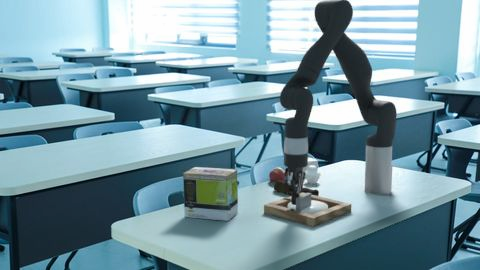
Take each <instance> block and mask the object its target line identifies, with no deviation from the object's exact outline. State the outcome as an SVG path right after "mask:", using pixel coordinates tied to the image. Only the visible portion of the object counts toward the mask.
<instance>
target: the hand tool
mask: <svg viewBox="0 0 480 270" xmlns="http://www.w3.org/2000/svg"><path fill="white" fill-rule="evenodd" d="M273 190H274V192H276V193H278V194H281V195H282V194H283V195H287V194H289V195H291V194H292V193H289V192H288V189H287V186H286V183H285V181H282V180H277V181H276V182H274V184H273ZM299 193H311V195H316V196H319V194H320V191H319V190H318V189H312V188H307V187H303V188H302V189H301V191H300V192H299Z"/></svg>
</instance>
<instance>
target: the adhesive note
mask: <svg viewBox="0 0 480 270" xmlns="http://www.w3.org/2000/svg"><path fill="white" fill-rule="evenodd" d="M318 163H319V162H318V159H316V158H312V157H308V165H307V166H306V167H303V172H305V171H307V169H308V167H309V166H311V165H314V166H316V167H317V169H318V170H319V167H318V166H319V164H318Z"/></svg>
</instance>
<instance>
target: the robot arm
mask: <svg viewBox="0 0 480 270" xmlns="http://www.w3.org/2000/svg"><path fill="white" fill-rule="evenodd" d="M353 10H354V9H353V6H352V4H351V2H350V1H349V0H322V1H319V2H317V4H316V5H315V8H314V18H315V22H316V24H317V26H318V27H319V29H320V31H321V33H322V35H321V36H320V37H319V38H318V39H317V40H316V42H314V43H313V44H312V45H311V46H310V48H308V49H307V50H306V52H305V53H304V55H303V57H302V59H301V61H300V62H299V65H298V67H297V69H296V72H295V73H294V74H293V75H292V76H291V78H290V79H289V80H288V81H287V83H285V85H284V86H283V88H282V90H281V91H280V95H279V103H280V105H281V107H282V108H284V109H285V110H291V111H292V110H293V111H295V114H294V116H292V117H288V118H286V119H285V123H284V141H283V165H284V166H285V168H289V172H288V178H289V179H286V181H285V183H286V186H287V189H288V192H289V193H292V194H290V195H291V203H292V204H293V205H296V198H297V197H299V196H300V193H299V192H300V191H301V189H302V188H304V187H303V186H304V182H305V179H306V178H305V174H306V173H305V172H303V167H306V166H307V165H308V158H309V141H308V140H309V139H308V124H309V121H310V117H311V113H312V109H313V107H314V95H313V93H312V92H311V90H310V89H309V88H307V87H311V86H314V85H315V84H316V83H317V81H318V80H319V77H320V75H321V73H322V71H323V68H324V66H325V64H326V62H327V60H328V59H329V56H330V55H331V53H332V51H333V54H334V56H335V57H336V59H337V62H338V64H339V65H340V68H341V71H342V72H343V74H344V76H345V78H346V80H347V81H348V84H349V86H350V88H351V91H352V93H353V95H354V97H355V100H356V103H357V105H358V110H359V112H360V115H361V117H362V119H363V121H364V122H365V123H366V124H368V125H370V126H374V127H375V126H376V127H377V128H376V132H375V133H374V134H371V135H368V136H367V137H366V139H365V170H364V171H365V172H364V192H365V193H367V194H370V195H377V196H380V195H382V196H383V195H389V194H390V193H392V192H391V191H392V189H393V187H392V186H393V185H392V184H393V183H392V181H393V165H392V164H393V162H392V161H393V143H394V139H395V135H396V127H397V126H396V125H397V113H398V112H397V107H396V105H395V104H394V102H391V101H388V100H380V99H376V97H375V96H374V93H373V92H372V89H371V82H372V78H373V69H372V65H371V62H370V61H369V58H368V56H367V53H365V51H364V50H363V48H361V46H359V45H358V44H357V43H356V42H355V41H354V40H353V39H352V38H350V37H349V36H348V35H347V34H346V30H347V29H348V27H349V25H350V23H351V21H352V19H353V15H354V11H353Z"/></svg>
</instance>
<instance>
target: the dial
mask: <svg viewBox="0 0 480 270" xmlns="http://www.w3.org/2000/svg"><path fill="white" fill-rule="evenodd" d="M288 208H289V209H291V208H292V209H294V210H297V211H300V212H304V213H308V214H315V213H318V212H320V211H323V210H326V209H328V205H327V204H326V203H323V202H320V201H315V200H311V193H305V194H303V195H301V196H299V197H297V198H296V205H293V204H292V203H291V202H290V203H289V204H288Z"/></svg>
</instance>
